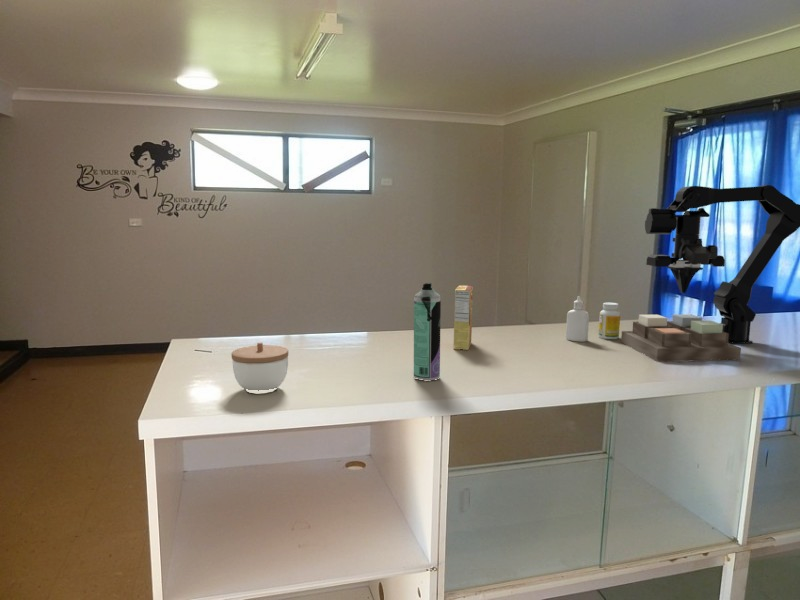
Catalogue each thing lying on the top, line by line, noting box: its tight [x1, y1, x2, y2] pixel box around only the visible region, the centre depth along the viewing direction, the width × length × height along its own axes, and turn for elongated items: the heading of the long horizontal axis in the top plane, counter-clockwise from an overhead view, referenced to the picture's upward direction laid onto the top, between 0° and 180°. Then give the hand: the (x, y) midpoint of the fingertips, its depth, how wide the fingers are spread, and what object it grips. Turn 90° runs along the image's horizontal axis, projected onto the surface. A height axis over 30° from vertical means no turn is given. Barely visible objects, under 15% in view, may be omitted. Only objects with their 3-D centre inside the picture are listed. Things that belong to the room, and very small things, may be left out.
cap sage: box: [691, 320, 723, 333], centre depth 143 cm, size 5×5×3 cm
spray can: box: [413, 282, 442, 380], centre depth 122 cm, size 6×6×20 cm
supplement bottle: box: [598, 301, 621, 340], centre depth 162 cm, size 5×5×10 cm
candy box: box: [453, 285, 474, 351], centre depth 151 cm, size 9×4×15 cm, turn 169°
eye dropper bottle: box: [565, 295, 590, 343], centre depth 159 cm, size 4×6×12 cm
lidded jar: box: [231, 341, 289, 391], centre depth 114 cm, size 11×11×9 cm
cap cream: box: [638, 314, 668, 326], centre depth 151 cm, size 5×5×3 cm
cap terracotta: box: [655, 328, 685, 334], centre depth 142 cm, size 5×5×3 cm
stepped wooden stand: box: [620, 320, 742, 362], centre depth 147 cm, size 20×20×6 cm
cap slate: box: [671, 313, 703, 326], centre depth 151 cm, size 5×5×3 cm
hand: (682, 292), depth 158 cm, fingers closed
